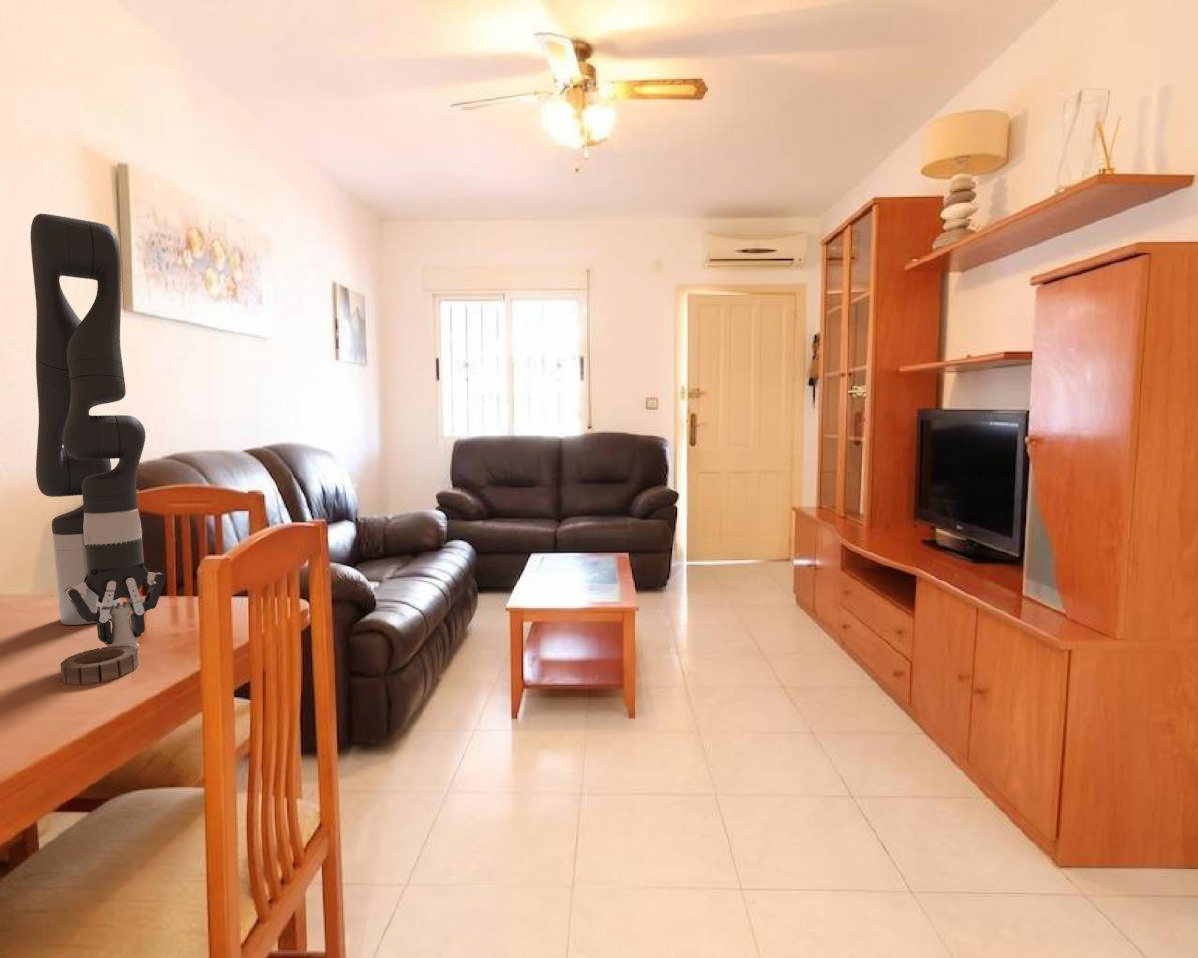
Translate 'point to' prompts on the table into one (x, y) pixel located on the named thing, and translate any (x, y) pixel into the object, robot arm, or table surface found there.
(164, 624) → the table surface
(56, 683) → the table surface
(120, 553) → the robot arm
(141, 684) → the table surface
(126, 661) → the walnut ring bead
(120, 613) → the rook chess piece
